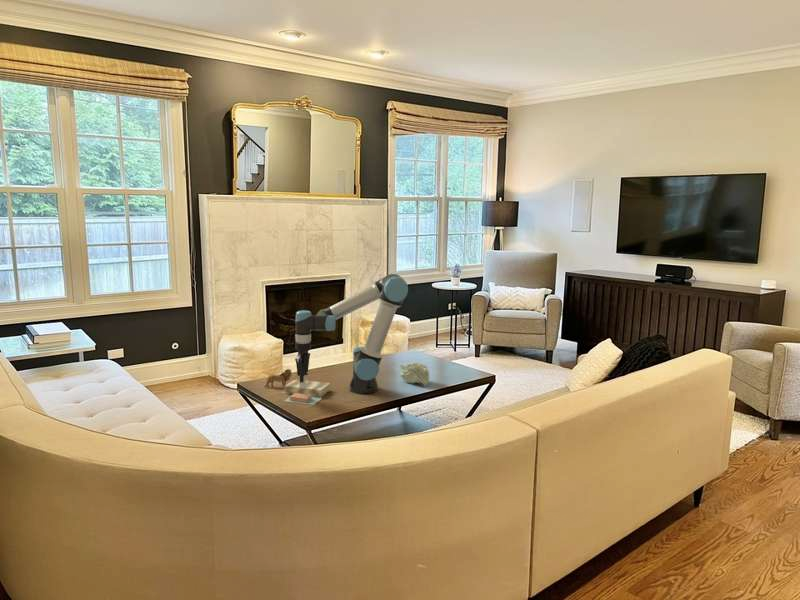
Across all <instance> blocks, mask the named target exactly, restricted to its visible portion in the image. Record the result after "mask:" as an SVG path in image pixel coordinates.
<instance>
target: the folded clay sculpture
mask: <svg viewBox="0 0 800 600" xmlns="http://www.w3.org/2000/svg"><path fill="white" fill-rule="evenodd" d="M399 368H400V370H401V371H400V373H399V374H400V377H401V378H402V380H403V383H406V384H408V383H409V384H415V383H418V384H420V383H421V384H422V386H423V387H426V386H427V385H428V382H429V381H430V372H429V370H428V367H427V364H426V363H424V362H422V363H420V362H418V361H413V362H407V365H402V364H400V365H399Z"/></svg>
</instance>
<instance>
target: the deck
mask: <svg viewBox="0 0 800 600" xmlns="http://www.w3.org/2000/svg"><path fill="white" fill-rule="evenodd" d="M330 391H331V383H330V382H321V381H315V380H306V388H305V389H303V388H300V379H295V378H294V379H292V380H291V381H290V382H288V383H287V384H285V387H284V395H285V394H287V395H293V394H294V393H299V394H308V395H312V397H322V398H323V397H324V396H326V394H327V392H328V393H329V392H330Z"/></svg>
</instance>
